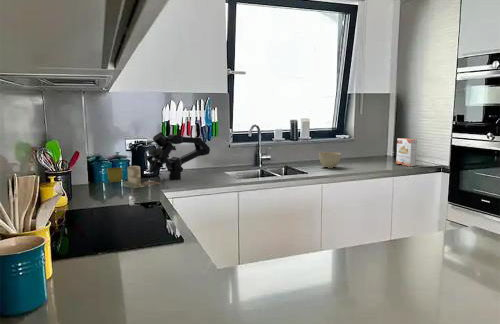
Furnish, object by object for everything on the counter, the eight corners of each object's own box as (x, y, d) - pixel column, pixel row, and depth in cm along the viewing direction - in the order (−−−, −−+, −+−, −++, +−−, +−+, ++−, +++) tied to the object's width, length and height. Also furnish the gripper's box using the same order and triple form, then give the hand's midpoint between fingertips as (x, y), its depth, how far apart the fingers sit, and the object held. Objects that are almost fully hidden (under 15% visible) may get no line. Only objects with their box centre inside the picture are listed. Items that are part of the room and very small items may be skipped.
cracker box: (395, 164, 303) (396, 138, 300) (401, 164, 306) (402, 137, 303) (409, 167, 291) (411, 139, 288) (415, 166, 293) (417, 139, 290)
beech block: (136, 184, 221) (135, 165, 219) (141, 185, 217) (140, 166, 216) (128, 186, 217) (127, 166, 216) (133, 187, 214) (132, 167, 212)
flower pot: (107, 182, 236) (106, 168, 234) (122, 181, 239) (121, 167, 238) (107, 185, 228) (106, 170, 226) (123, 184, 231) (122, 169, 229)
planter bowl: (341, 169, 282) (341, 154, 280) (318, 169, 285) (318, 154, 283) (340, 166, 297) (340, 152, 296) (319, 165, 300) (319, 151, 299)
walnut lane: (152, 183, 232) (152, 177, 232) (162, 185, 226) (162, 178, 225) (123, 188, 218) (123, 181, 217) (133, 191, 211) (133, 183, 211)
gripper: (147, 142, 232) (131, 162, 225) (166, 143, 219) (150, 165, 213) (158, 153, 239) (144, 174, 232) (177, 156, 226) (163, 177, 220)
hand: (150, 172), depth 224 cm, fingers closed
